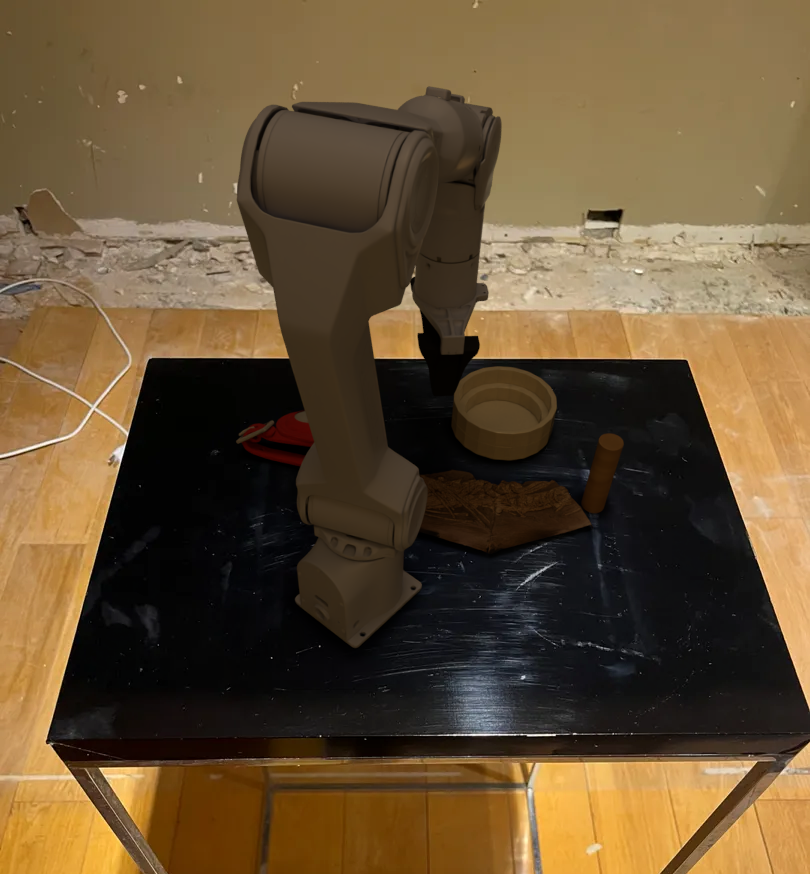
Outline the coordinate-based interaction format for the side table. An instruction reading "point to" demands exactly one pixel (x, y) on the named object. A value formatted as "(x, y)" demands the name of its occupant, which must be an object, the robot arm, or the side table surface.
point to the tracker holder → (279, 437)
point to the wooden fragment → (497, 511)
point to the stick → (602, 472)
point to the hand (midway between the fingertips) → (439, 369)
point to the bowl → (503, 413)
